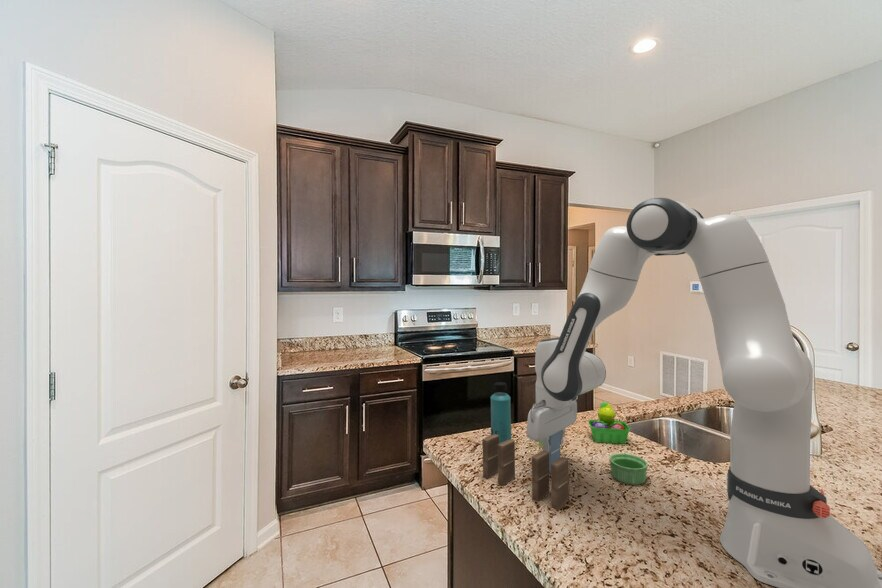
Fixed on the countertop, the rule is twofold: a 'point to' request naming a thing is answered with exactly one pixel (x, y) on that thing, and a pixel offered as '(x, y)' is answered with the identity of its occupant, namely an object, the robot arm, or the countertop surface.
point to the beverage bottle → (501, 413)
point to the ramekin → (628, 468)
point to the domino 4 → (554, 448)
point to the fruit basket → (608, 426)
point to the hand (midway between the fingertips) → (553, 447)
